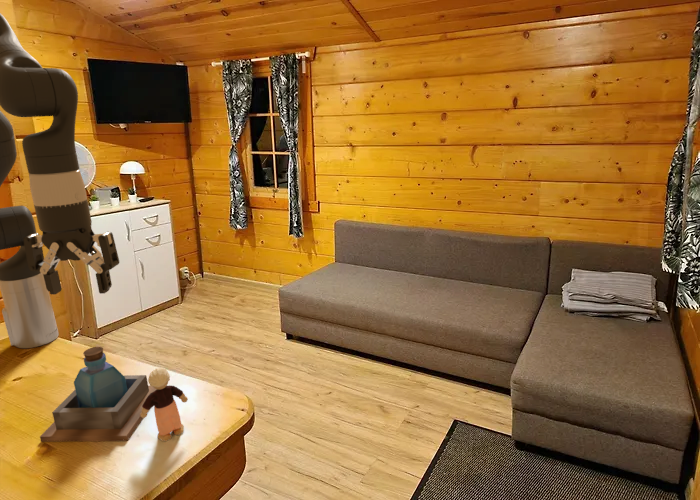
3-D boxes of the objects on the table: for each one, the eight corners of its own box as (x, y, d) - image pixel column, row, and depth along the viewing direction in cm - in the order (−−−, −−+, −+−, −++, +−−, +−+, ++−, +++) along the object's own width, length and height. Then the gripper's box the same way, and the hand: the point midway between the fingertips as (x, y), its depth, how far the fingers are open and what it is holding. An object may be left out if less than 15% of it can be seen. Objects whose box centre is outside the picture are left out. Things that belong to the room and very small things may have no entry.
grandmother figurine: (182, 418, 87) (172, 356, 83) (194, 427, 84) (184, 363, 81) (141, 442, 81) (128, 376, 77) (153, 451, 79) (141, 384, 75)
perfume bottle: (97, 423, 84) (84, 363, 81) (80, 411, 88) (67, 353, 84) (130, 406, 89) (119, 348, 86) (113, 395, 93) (101, 339, 89)
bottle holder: (41, 441, 82) (35, 419, 81) (88, 390, 96) (84, 371, 95) (127, 440, 81) (122, 418, 80) (162, 389, 96) (159, 370, 94)
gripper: (115, 194, 81) (131, 283, 86) (32, 196, 81) (53, 285, 86) (91, 203, 74) (110, 300, 79) (1, 205, 74) (25, 301, 79)
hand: (80, 292), depth 82 cm, fingers open, 8 cm apart
